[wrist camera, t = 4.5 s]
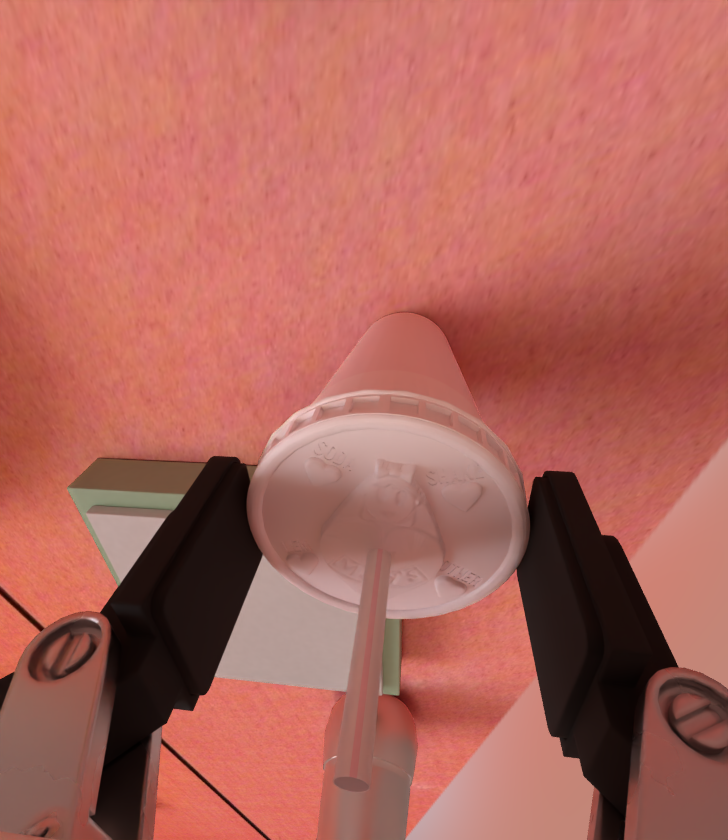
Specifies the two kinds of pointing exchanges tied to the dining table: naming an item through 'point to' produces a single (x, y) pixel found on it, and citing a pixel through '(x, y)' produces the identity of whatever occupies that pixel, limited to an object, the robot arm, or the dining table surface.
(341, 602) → the smoothie
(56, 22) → the dining table surface
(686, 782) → the robot arm
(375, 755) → the plastic bottle
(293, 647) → the scale
